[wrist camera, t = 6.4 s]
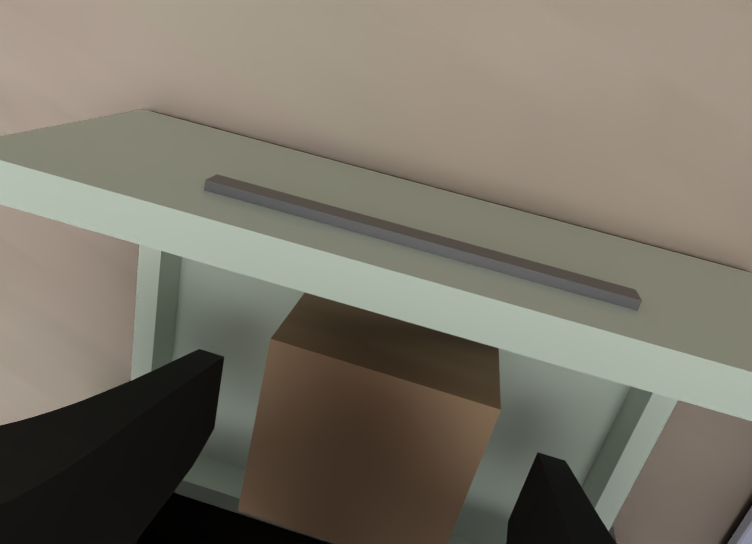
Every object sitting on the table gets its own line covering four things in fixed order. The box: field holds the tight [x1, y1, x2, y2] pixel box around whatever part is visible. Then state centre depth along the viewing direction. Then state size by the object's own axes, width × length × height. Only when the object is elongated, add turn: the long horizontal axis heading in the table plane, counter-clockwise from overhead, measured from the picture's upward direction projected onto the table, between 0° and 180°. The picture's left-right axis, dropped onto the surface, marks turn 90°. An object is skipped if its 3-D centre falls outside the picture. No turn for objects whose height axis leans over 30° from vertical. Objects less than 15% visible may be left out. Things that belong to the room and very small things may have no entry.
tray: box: [0, 109, 752, 544], centre depth 14 cm, size 16×11×6 cm
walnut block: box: [238, 292, 501, 544], centre depth 14 cm, size 5×5×4 cm
